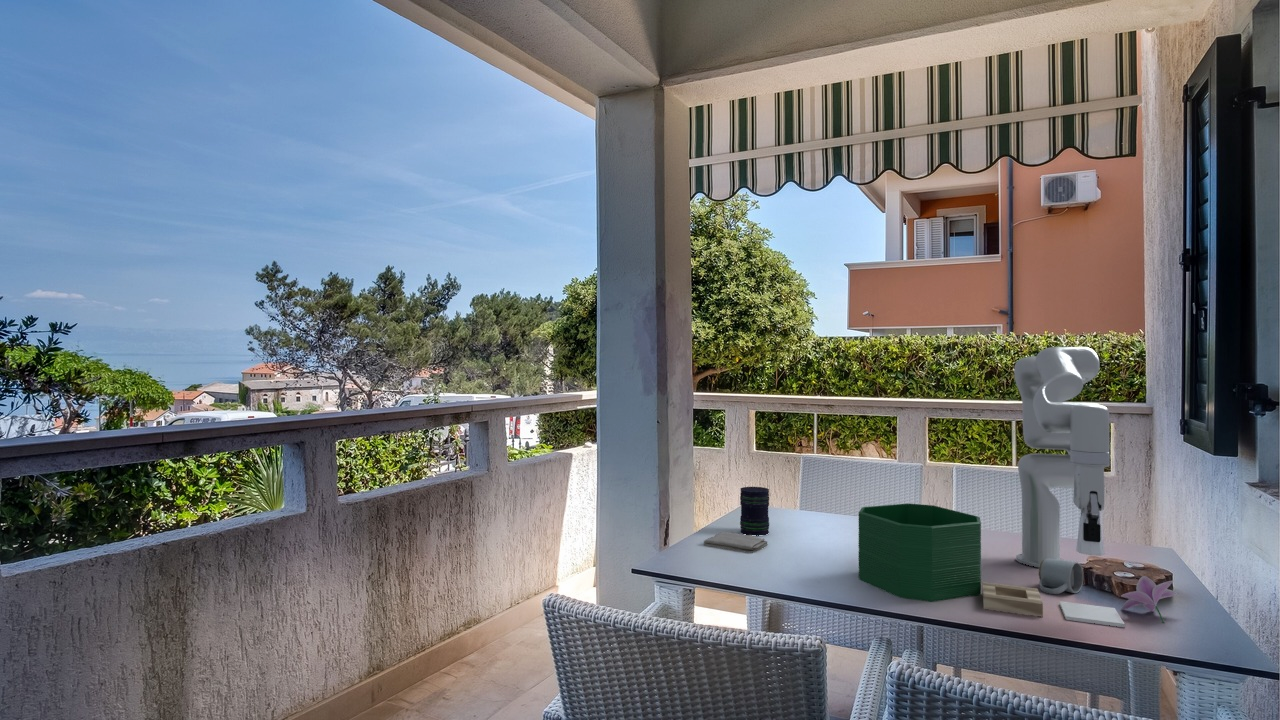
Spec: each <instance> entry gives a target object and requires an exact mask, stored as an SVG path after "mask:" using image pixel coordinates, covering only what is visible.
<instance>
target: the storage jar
mask: <svg viewBox="0 0 1280 720" xmlns="http://www.w3.org/2000/svg"><path fill="white" fill-rule="evenodd" d="M769 492H770V489H769V488H767V487H762V486H742V487H741V488H740V496H739V499H740V501H739V503H740V509H741V510H740V519H739V520H740V521H739V525H740V534H741V533H743V534H746V535H756V536H755V537H760V536H759V535H766V534H768V533H769V534H770V531H769V530H770V517H769V507H770V494H769ZM743 534H742V535H743ZM769 534H768V535H769ZM757 535H758V536H757ZM766 536H767V535H766Z"/></svg>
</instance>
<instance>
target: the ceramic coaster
mask: <svg viewBox="0 0 1280 720" xmlns="http://www.w3.org/2000/svg"><path fill="white" fill-rule="evenodd" d="M1059 606H1060V607H1059V608H1061V609H1060V610H1061V611H1062V615H1063V616H1064V619H1065V620H1066V621H1074V622H1078V623H1079V622H1081V623H1087V624H1088V623H1089V624H1094V623H1095V624H1097V625H1104V626H1109V625H1110V627H1116V626H1117V628H1126V625H1125V622H1124V620H1123V619H1122V618H1121V615H1120V614H1119V613H1118V611H1117V609H1116V608H1115V607H1108V606H1102V605H1093V604H1085V603H1077V602H1069V601H1061V600H1060V601H1059ZM1095 624H1094V625H1095Z"/></svg>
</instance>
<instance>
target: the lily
mask: <svg viewBox="0 0 1280 720" xmlns="http://www.w3.org/2000/svg"><path fill="white" fill-rule="evenodd" d="M1173 583H1174V580H1167V581H1164V582H1162V583H1159V584H1156V583H1155V582H1154V580H1152V579H1151V578H1149V577H1148V576H1145V575H1143V576H1141V577H1140V578H1139V580H1138V581H1137V583H1136V586H1135V587H1136V589H1135V590H1136V591H1135V590H1133V591H1129V592H1126V593H1122V594H1121V595H1120V597H1122V598H1125V599H1127V600H1126V601H1125V602H1124V604H1123V605H1122V606H1121V608H1120V610H1121V611H1125V610H1128V609H1131V608H1133V607H1137V606H1143V607H1144V608H1145V609H1147V610H1148V611H1150V612H1154V611H1155V609H1156V611H1157V614H1158V615H1159V617H1160V620H1161V622H1162V624H1164V623H1165V621H1164V619H1163V616H1162V614H1161V612H1160V610H1159V608H1158V602H1159V601H1160V600H1162V599H1164V598H1170V597H1171V598H1172V597H1176V596H1178V595H1179V593H1177V592H1176V591H1174V590H1172V589H1169V587H1170V586H1171V585H1172V584H1173Z"/></svg>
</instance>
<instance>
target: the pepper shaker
mask: <svg viewBox="0 0 1280 720" xmlns="http://www.w3.org/2000/svg"><path fill="white" fill-rule="evenodd" d="M1087 509H1089V510H1091V507H1087ZM1083 511H1084V508H1083ZM1089 513H1091V512H1088V514H1089ZM1079 516H1080V517H1079V522H1078V523H1079V525H1078V533H1077V539H1076V540H1077V541H1076V547H1075V548H1076V552H1077V553H1079V554H1083V555H1088V556H1094V557H1096V556H1100V557H1101V556H1103V555H1105V547H1104V539H1103V531H1102V523H1101V521H1100V529H1101V541H1100V542H1090V541H1084V539H1083V523H1085V512H1083V514H1082V515H1081V514H1080V515H1079Z"/></svg>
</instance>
